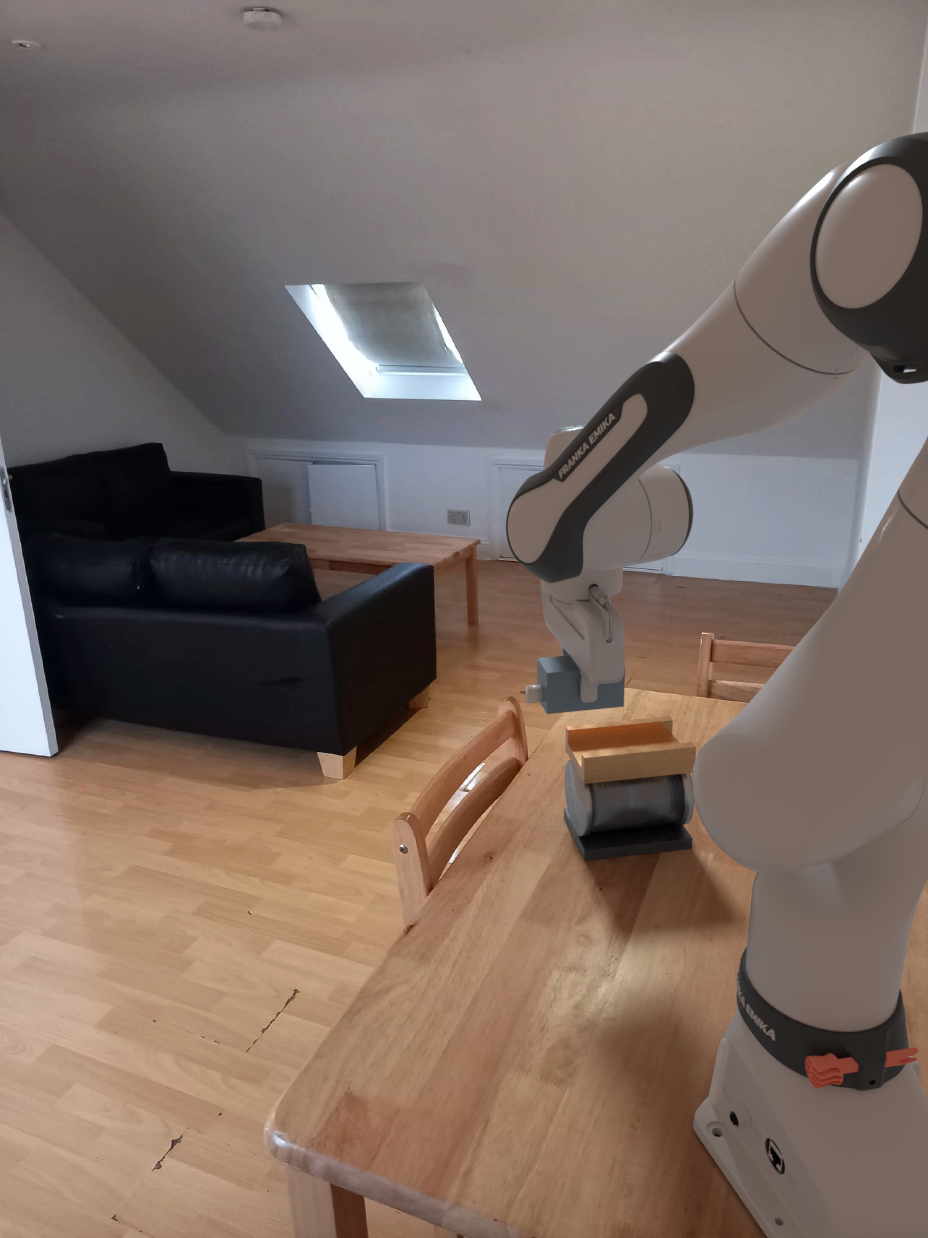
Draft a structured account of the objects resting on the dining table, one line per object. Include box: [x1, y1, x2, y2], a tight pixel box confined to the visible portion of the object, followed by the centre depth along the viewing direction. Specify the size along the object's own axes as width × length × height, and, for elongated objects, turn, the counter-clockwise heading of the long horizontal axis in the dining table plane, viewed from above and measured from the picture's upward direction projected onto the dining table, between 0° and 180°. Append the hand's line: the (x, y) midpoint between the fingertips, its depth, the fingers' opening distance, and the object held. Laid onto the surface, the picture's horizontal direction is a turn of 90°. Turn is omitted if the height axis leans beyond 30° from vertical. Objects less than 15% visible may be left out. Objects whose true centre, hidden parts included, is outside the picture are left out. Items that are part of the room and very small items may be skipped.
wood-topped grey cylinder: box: [563, 716, 697, 862], centre depth 109 cm, size 10×14×14 cm
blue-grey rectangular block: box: [524, 655, 626, 715], centre depth 97 cm, size 4×11×5 cm, turn 99°
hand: (579, 689), depth 98 cm, fingers closed on blue-grey rectangular block, 4 cm apart
